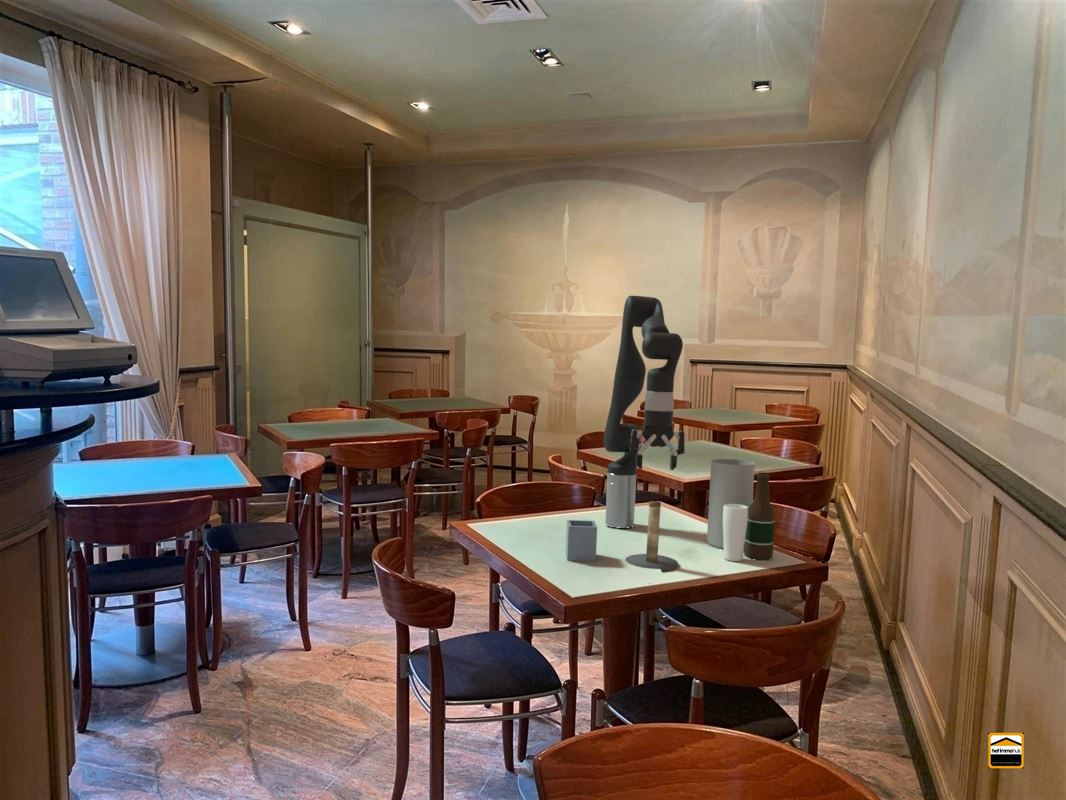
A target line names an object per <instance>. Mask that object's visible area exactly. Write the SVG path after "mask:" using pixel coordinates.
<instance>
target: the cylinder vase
mask: <svg viewBox="0 0 1066 800" xmlns="http://www.w3.org/2000/svg"><path fill="white" fill-rule="evenodd" d="M709 476H710V477H709V479H710V480H709V497H708V511H707V512H708V515H707V516H708V517H707V534H706V535H707V536H706V541H707V543H708V544H709V545H710V546H712V547H715V548H718V549H722V548H723V550H724V547H723V508H724V505H725V504H739V505H744V506H747V507H748V508H749V506H750V505H751V504H752V502H753V501H754V481H755V462H754V461H751V460H750V461H749V460H745V459H739V458H738V459H735V458H715V459H714V458H713V459H710V474H709ZM744 547H745V545H744Z"/></svg>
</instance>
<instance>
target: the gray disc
mask: <svg viewBox="0 0 1066 800" xmlns="http://www.w3.org/2000/svg"><path fill="white" fill-rule="evenodd" d="M625 562H626V563H627V564H629V565H632V566H635V567H638V568H644V569H650V570H651V569H652V570H660V571H661V572H662V571H666V572H670V571H669V570H672V571H674V570H673V569H675V570H677V569H678V568H679V562H678V561H677V560H676V559H674V558H671V557H669V556H665V555H661V554H658V558H657V562H656V563H650V562H647V561H646V553H639V554H638V553H637V554H631V555H629V556H627V557H625ZM677 567H678V568H677ZM676 568H677V569H676Z"/></svg>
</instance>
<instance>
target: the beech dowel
mask: <svg viewBox="0 0 1066 800" xmlns="http://www.w3.org/2000/svg"><path fill="white" fill-rule="evenodd" d="M661 503H662V502H661V501H657V500H654V501H653V500H652V501H651V500H649V501H648V519H647V521H648V522H647V539H646V553H645V554H646V561H647V562H650V563H656V562H657V558H658V555H659V554H658V553H659V540H660V539H659V537H660V522H661V521H660V520H661V507H662V505H661Z"/></svg>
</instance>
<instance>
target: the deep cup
mask: <svg viewBox="0 0 1066 800" xmlns="http://www.w3.org/2000/svg"><path fill="white" fill-rule="evenodd" d="M595 521H596V520H584V519H583V520H580V519H566V529H565V530H566V531H565V532H566V535H565V557H566V560H567V562H597V543H598V542H597V540H598V539H597V538H598V526H597V524H596V522H595Z"/></svg>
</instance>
